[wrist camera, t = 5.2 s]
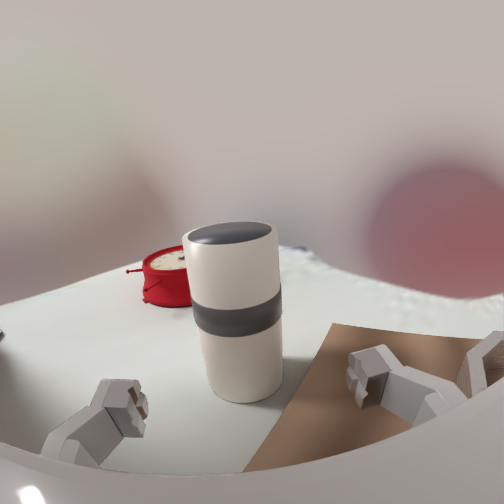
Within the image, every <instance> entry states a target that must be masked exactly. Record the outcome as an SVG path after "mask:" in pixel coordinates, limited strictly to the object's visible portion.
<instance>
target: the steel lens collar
mask: <svg viewBox="0 0 504 504" xmlns="http://www.w3.org/2000/svg"><path fill="white" fill-rule="evenodd" d="M489 370H497V371H504V331H493V332H492V333H491V334H490V335H488V336H487V337H486V338H485V339H484V340H482V341H481V342H480V343H478V344H477V345H476V346H475V347H473V348H472V349H471V350H469V351H468V352H467V353H466V356H465V358H464V361H463V363H462V366H461V369H460V371H459V374H458V376H457V378H456V381H455V383H454V384H455V385H456V386H457V387H458V388H459V389H460V390H461V392H462V393H463V394H464V395H465V396H466V397H467V398H468V399H470V398H472V397H474V396H475V395H477V394H478V393H480V392H482V391H483V390H485V389H486V388H487V382H486V376H485V374H486V373H487V372H488V371H489Z"/></svg>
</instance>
